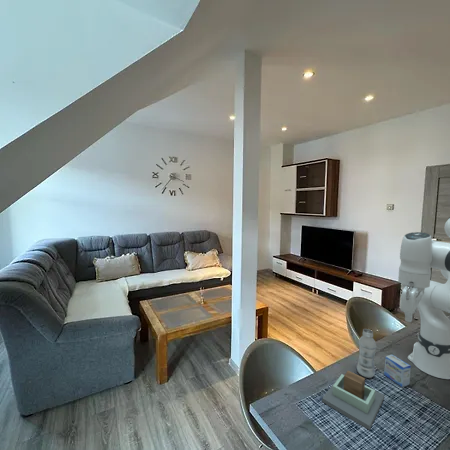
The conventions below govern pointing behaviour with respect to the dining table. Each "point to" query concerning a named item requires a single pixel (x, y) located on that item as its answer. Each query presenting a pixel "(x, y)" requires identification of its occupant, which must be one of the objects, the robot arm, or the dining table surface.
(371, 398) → the board
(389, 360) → the medicine box
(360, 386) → the walnut block
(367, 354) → the plastic bottle
